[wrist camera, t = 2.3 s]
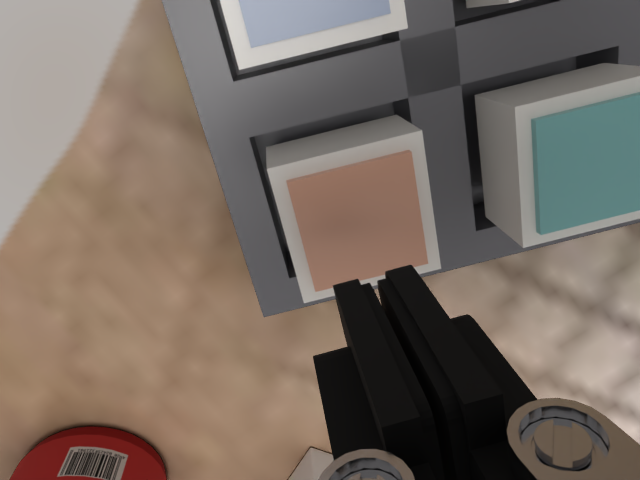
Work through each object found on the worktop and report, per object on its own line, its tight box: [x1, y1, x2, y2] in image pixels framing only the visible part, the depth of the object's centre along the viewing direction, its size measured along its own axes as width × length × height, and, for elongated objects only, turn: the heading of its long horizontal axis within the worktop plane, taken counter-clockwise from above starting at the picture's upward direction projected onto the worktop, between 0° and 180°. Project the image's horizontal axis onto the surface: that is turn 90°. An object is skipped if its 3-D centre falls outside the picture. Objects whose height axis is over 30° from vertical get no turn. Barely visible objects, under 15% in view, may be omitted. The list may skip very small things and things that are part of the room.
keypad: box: [162, 0, 640, 317], centre depth 19 cm, size 17×17×3 cm
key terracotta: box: [266, 114, 441, 303], centre depth 18 cm, size 5×5×4 cm
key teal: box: [474, 63, 640, 248], centre depth 18 cm, size 5×5×4 cm
